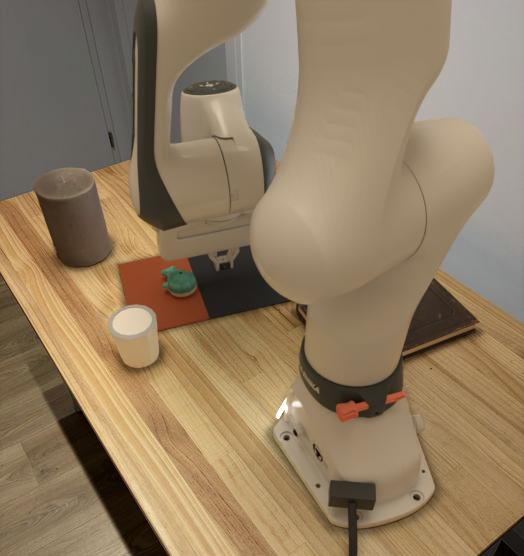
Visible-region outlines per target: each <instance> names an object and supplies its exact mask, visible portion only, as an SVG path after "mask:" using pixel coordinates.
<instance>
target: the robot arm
mask: <svg viewBox="0 0 524 556" xmlns="http://www.w3.org/2000/svg"><path fill="white" fill-rule="evenodd" d="M271 1H272V0H137V2H136V6H135V11H134V16H133V26H132V47H131V52H132V53H131V145H130V160H129V162H130V163H129V168H128V169H129V170H128V180H127V181H128V192H129V197H130V201H131V203H132V206H133V208H134V211H135V212H136V215H137V217H138V218H139V219H140V220H142V221H143V222H145V223H147V224H148V225H150V226H151V227H152V229H153V230H154V231H155V233H156V244H157V251H158V254H159V256H161V258H162V259H164V260H165V261H167V262H170V261H175V260H180V259H185V258H190V257H194V256H199V255H204V254H208V256H209V258H210V259H211V260H212V261H213V262H214V266H215V269H216V271H221V270H225V269H230V268H233V267H234V266H233V260H234V259H235V258H236V256H237V254H238V253H239V247H243V246H248V245H250V248H251V253H252V256H253V259H254V262H255V264H256V266H257V268H258V270H259V272H260V274H261V275H262V277H263V278H264V280H265V281H266V282H267V283H268V284H269V285H270V286H271V287H272V288H273V289H274V290H275V291H276V292H278V293H279V294H280V295H282V296H284V297H285V298H287V299H289V300H291V301H290V302H294V303H296V304H297V303H299V304H305V305H307V304H308V306H307V319H306V324H305V331H304V332H305V334H304V335H303V337H302V340H301V343H300V347H299V351H298V372H297V374H296V376H295V377H294V379H293V381H292V383H291V385H290V386H289V387H288V390H287V392H286V398H285V399H284V401H283V402H282V404H281V406H280V408H279V410H278V411H277V413H276V416H275V418H277V419H279V420H278V421H277V423H276V424H275V425H274V427H273V431H272V437H273V440H274V441H275V442H276V444H277V446H278V447H279V449H280V450H281V452H282V453H283V454H284V456H285V457H286V459H287V460H288V462H289V464H290V465H291V466H292V468H293V470H294V471H295V473H296V474H297V476H299V479H300V480H301V481H302V483H303V485H304V486H305V488H306V489H307V490H308V492H309V494H310V495H311V496H312V499H314V501H315V503H316V504H317V505H318V507H319V508H320V510H321V512H322V513H323V514H324V516H325V517H326V519H327V520H328V522H329V523H330V524H332V525H334V526H336V527H340V528H344V529H347V530H348V556H358V553H359V552H358V551H359V550H358V549H359V547H358V542H359V541H358V529H369V528H374V527H379V526H380V527H381V526H383V525H387V524H391V523H393V522H396V521H399V520H402V519H404V518H406V517H409V516H411V515H412V514H414V513H415V512H417V511H419V510H420V509H422V508H423V507H424V506H425V505H426V504H427V503H428V502H429V501H430V500H431V499H432V497H433V495H434V493H435V491H436V486H435V482H434V479H433V475H432V474H431V471H430V468H429V465H428V462H427V459H426V456H425V454H424V451H423V448H422V446H421V442H420V440H419V436H418V435H417V434H421V433H423V432H424V431H425V429H426V427H425V425H426V423H425V420H424V417H423V415H421V414H420V413H416V414H412V412H411V409H410V406H409V402H408V398H407V397H409V396H410V394H411V391H410V390H411V389H410V387H409V385H407V384H406V385H404V371H405V363H404V360H403V354H402V349H403V346H404V342H405V339H406V336H407V332H408V329H409V326H410V322H411V320H412V317H413V315H414V312H415V310H416V308H417V306H418V304H419V302H420V300H421V299H422V297H423V295H424V293H425V292H426V290H427V288H428V287H429V285H430V283H431V281H432V280H433V278H435V276H436V274H437V273H438V271H439V269H440V268H441V266H442V265H443V263H444V260H445V259H446V257H447V255H448V254H449V251H450V249H451V248H452V246H453V244H454V242H455V240H456V239H457V238H458V236H459V234H460V233H461V231H462V230H463V228H464V227H465V225H467V223H468V222H469V220H470V219H471V217H472V216H473V215H474V214H475V212H476V211H477V210H478V209H479V207H480V206H481V205H482V204H483V203H484V201H485V200H486V199H487V197H488V195H489V194H490V192H491V190H492V187H493V185H494V179H495V173H496V171H495V169H496V167H495V160H494V155H493V152H492V149H491V147H490V145H489V143H488V141H487V139H486V137H485V136H484V134H483V133H482V132H481V131H480V130H479V129H478V128H477V127H476V126H474V125H473V124H471V123H470V122H468V121H467V120H464V119H462V118H459V117H450V116H448V117H438V118H437V117H436V118H428V119H422V120H417V121H415V120H416V118H417V114H418V112H419V110H420V108H421V105H422V104H423V101H424V100H425V98H426V97H427V94H428V93H429V91H430V90H431V88H432V87H433V86H434V85H435V83H436V81H437V79H438V78H439V76H440V75H441V73H442V71H443V68H444V66H445V64H446V61H447V59H448V56H449V55H448V54H449V50H450V44H451V26H452V25H451V22H452V7H453V6H452V4H453V0H294V3H295V4H294V5H295V19H296V20H295V21H296V33H297V36H296V37H297V53H298V55H297V56H298V80H297V82H298V83H297V92H296V93H297V95H296V100H295V108H294V111H293V117H292V121H291V126H290V131H289V135H288V139H287V142H286V145H285V149H284V151H283V155H282V158H281V161H280V163H279V166H278V168H276V167H277V166H276V165H277V164H276V163H277V162H276V156H275V155H276V153H275V150H274V147H273V145H272V143H270V142H269V140H267V139H266V138H265V137H264V136H262V134H260V133H259V132H258V131H256V130H255V129H253V128H252V127H250V126H249V124H248V122H247V119H246V116H245V115H246V114H245V111H244V105H243V99H242V93H241V90H240V88H239V86H238V85H237V84H235V83H233V82H231V81H228V80H223V79H222V80H221V79H220V80H217V79H215V80H213V79H212V80H205V81H200V82H195V83H193V84H189V85H188V86H186V87H185V88H183V90H181V94H180V102H179V103H180V104H179V124H180V126H179V127H180V140H181V142H177V143H172V142H171V129H172V112H173V94H174V88H175V86H176V83H177V81H178V79H179V78H180V77H181V75H182V73H183V72H185V70H186V69H187V68H188V67H189V66H190V65H193V64H194V62H196V61H197V60H198V59H200V58H201V57H203V56H204V55H206V54H207V53H209V51H212V50H214V49H215V48H217V47H220V45H222V44H224V43H226V42H228V41H230V40H232V39H234V38H236V37H237V36H239V35H240V34H242V33H243V32H245V31H246V30H247V29H249V28H250V27H251V26H252V25H253V24H254V23H255V22H256V21H257V20H258V19H259V18H260V17H261V16H262V15H263V13H264V12H265V10H266V9H267V8H268V6H269V4H270V3H271ZM228 249H229V251H228V253H227V255H224V256H219V257H217V252H219V251H224V250H228ZM282 413H283V415H282ZM281 416H282V417H281ZM280 417H281V418H280ZM285 439H288V440H285ZM414 498H417V499H418V500H416V499H414Z"/></svg>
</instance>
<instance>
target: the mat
mask: <svg viewBox="0 0 524 556" xmlns="http://www.w3.org/2000/svg"><path fill="white" fill-rule="evenodd" d="M228 251H229V249H228V250H224V251H219V252H217V257H219V256H224V255H227V253H228ZM171 266H175V267H176V269H179V270H185V271H189V272H193V274H194V276H195V278H196V282H197V288H196V290H195V291H194V292H193V293H192V294H191V295H188V296H186V297H176V296H174V295H172V294H171V293H170V291H169V290H166V289H164V288H163V287H162V285H163V284H164V283H166V282H168V280H167V277H165V276H163V275H161V271H162V270H164V269H167V268H169V267H171ZM233 266H234V267H233V268H230V269H225V270H221V271H216V269H215V266H214V262H213V261H212V260H211V259H210V258H209V256H208V254H204V255H199V256H194V257H190V258H185V259H180V260H175V261H170V262H167V261H165V260H164V259H162V258H161V256H160V255H159V256H158V255H157V256H152V257H146V258H142V259H137V260H132V261H127V262H122V263H118V264H117V267H118V272H119V277H120V281H121V285H122V290H123V293H124V294H123V295H124V298H125V303H126V306H129V305H143V306H146V307H148V308H150V309H152V310H153V311H154V313H155V314H156V320H157V332H161V331H165V330H169V329H174V328H178V327H181V326H187V325H191V324H196V323H200V322H204V321H208V320H209V321H210V320H212V319H217V318H222V317H227V316H231V315H235V314H240V313H244V312H248V311H252V310H257V309H262V308H266V307H270V306H275V305H279V304H284V303H288V302H292V301H291V300H289V299H287V298H285V297H284V296H282V295H280V294H279V293H278V292H276V291H275V290H274V289H273V288H272V287H271V286H270V285H269V284H268V283H267V282H266V281H265V280H264V278H263V277H262V275H261V274H260V272H259V270H258V268H257V266H256V264H255V262H254V259H253V256H252V253H251V248H250V245H248V246H243V247H239V253H238V254H237V256H236V258H235V259H234V260H233Z"/></svg>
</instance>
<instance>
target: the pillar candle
mask: <svg viewBox="0 0 524 556" xmlns="http://www.w3.org/2000/svg"><path fill="white" fill-rule="evenodd" d="M33 190H34V193H35V196H36V198H37V201H38V205H39V207H40V210H41V212H42V216H43V218H44V223H45V225H46V228H47V229H48V234H49V236H50V239H51V242H52V246H53V247H54V249H55V251H56V253H55V254H56V258H57V259H58V260H59V261H60V262H61V263H62V264H64V265H66V266H67V267H68V266H69V267H73V268H83V267H84V268H85V267H89V266H93V265H95V264H98V263H100V262H102V261H104V260H105V259H106V258H107V257H108V256H109V255H110V254H111V253H110V252H111V250H112V242H111V239H110V234H109V230H108V227H107V226H108V225H107V223H106V222H107V221H106V217H105V215H104V211H103V207H102V203H101V199H100V195H99V192H98V187H97V184H96V179H95V176H94V175H93V174H92V173H91V172H90V171H89V170H87V168H81V167H80V168H79V167H61V168H56V169H52V170H49V171H47V172H46V173H44V174H42V175H41V176H40V177H38V178H37V180H36V181H35V182H34V186H33Z"/></svg>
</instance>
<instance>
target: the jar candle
mask: <svg viewBox="0 0 524 556" xmlns="http://www.w3.org/2000/svg"><path fill="white" fill-rule="evenodd" d="M107 330H108V332H109V335H110V336H111V338H112V340H113V343H114V345H115V347H116V349H117V352H118V353H119V356H120V358H121V360H122V361H123V363H124V364H125V365H126V366H128V367H130V368H135V369H140V368H146V367H148V366H151V365H153V363H155V362H156V361H157V360H158V358H159V355H160V345H159V333H158V332H159V331H157V320H156V314H155V313H154V311H153V310H152V309H150V308H148V307H146V306H143V305H129V306H127V305H125V306H123V307H120V308H118V309H116V310H115V311H114V312H113V313H111V315H110V316H109V319H108V320H107Z"/></svg>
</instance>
